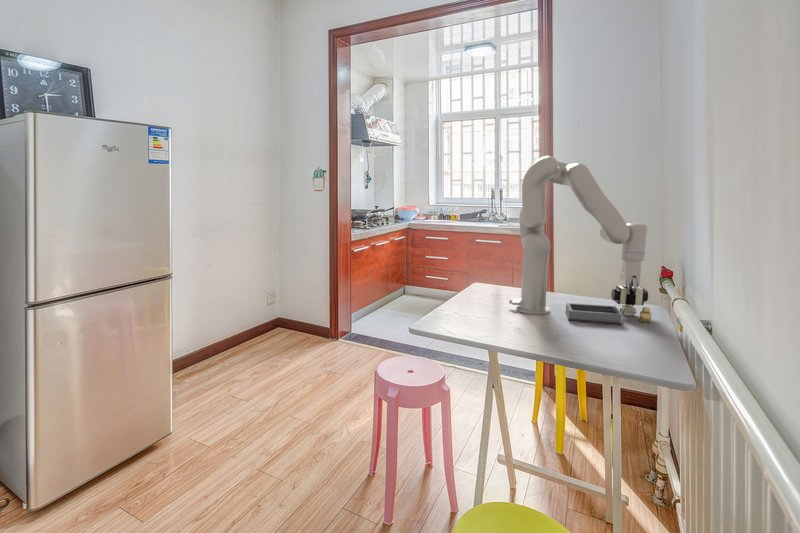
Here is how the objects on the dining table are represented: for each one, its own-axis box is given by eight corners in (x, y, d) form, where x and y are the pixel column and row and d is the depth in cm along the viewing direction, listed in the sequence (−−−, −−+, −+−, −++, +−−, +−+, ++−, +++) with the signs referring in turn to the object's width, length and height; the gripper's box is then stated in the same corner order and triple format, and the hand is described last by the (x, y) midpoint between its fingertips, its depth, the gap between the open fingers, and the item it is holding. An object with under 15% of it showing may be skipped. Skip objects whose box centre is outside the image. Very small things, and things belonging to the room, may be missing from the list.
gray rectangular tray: (568, 321, 154) (569, 310, 153) (565, 311, 166) (565, 301, 166) (620, 325, 149) (621, 314, 148) (613, 314, 162) (614, 304, 161)
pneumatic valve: (646, 317, 158) (649, 286, 156) (613, 315, 160) (615, 285, 158) (641, 313, 164) (644, 283, 161) (608, 311, 166) (611, 282, 164)
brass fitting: (640, 323, 152) (642, 309, 151) (638, 320, 155) (639, 306, 154) (651, 324, 151) (653, 310, 150) (648, 321, 154) (650, 307, 153)
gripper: (617, 252, 167) (613, 296, 170) (627, 259, 151) (622, 307, 154) (638, 253, 165) (633, 297, 168) (650, 260, 149) (645, 309, 152)
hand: (628, 302), depth 161 cm, fingers closed on pneumatic valve, 5 cm apart
